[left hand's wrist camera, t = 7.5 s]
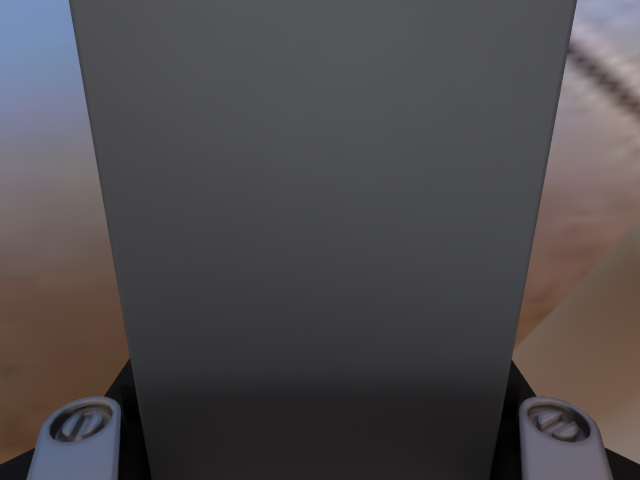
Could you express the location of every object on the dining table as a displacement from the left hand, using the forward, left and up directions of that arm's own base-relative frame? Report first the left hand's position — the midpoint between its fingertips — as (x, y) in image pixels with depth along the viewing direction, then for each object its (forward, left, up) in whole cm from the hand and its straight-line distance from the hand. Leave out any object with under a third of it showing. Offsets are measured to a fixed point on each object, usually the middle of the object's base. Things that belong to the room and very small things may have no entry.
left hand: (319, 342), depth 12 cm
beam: (-20, +15, -1) cm, 25 cm away
